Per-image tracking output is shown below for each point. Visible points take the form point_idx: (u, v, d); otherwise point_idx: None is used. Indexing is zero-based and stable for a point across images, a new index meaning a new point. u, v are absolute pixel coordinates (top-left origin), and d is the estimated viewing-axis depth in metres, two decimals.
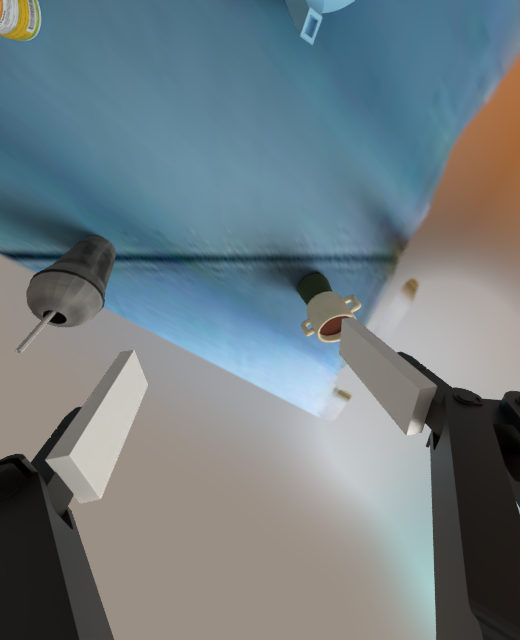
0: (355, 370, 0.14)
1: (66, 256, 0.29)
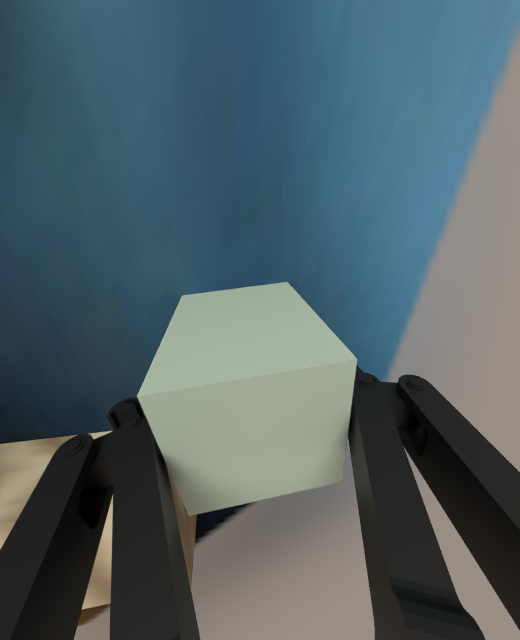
0: None
1: None
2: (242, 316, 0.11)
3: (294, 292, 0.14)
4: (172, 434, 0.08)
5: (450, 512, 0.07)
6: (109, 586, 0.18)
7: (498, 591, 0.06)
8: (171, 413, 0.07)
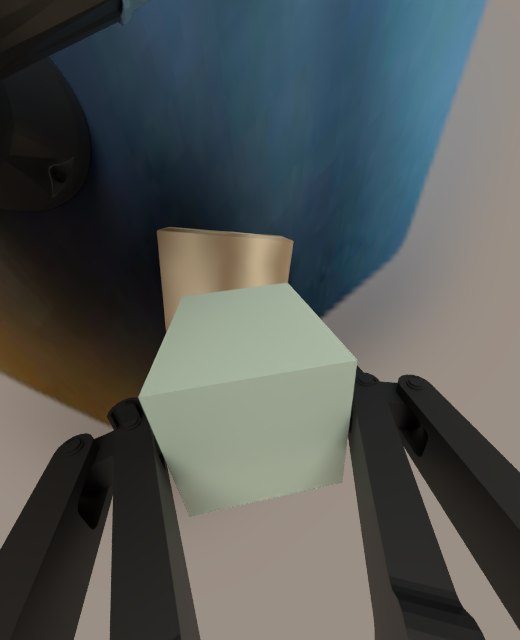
0: None
1: None
2: (242, 317, 0.11)
3: (294, 293, 0.14)
4: (173, 435, 0.08)
5: (450, 512, 0.07)
6: None
7: (498, 591, 0.06)
8: (172, 414, 0.07)
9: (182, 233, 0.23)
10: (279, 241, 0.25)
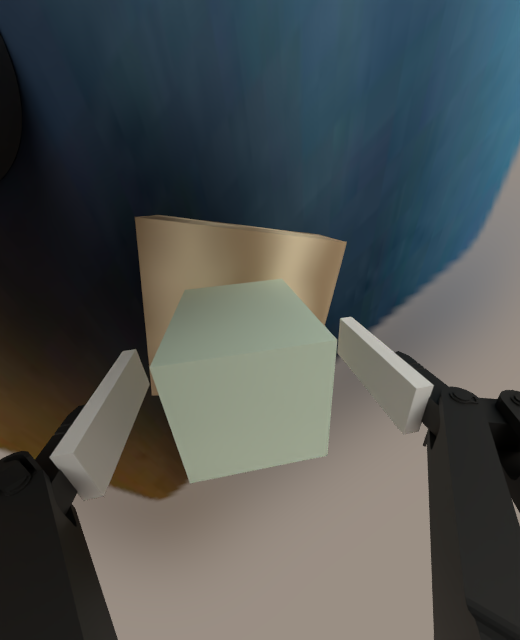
0: (353, 369, 0.14)
1: None
2: (239, 307, 0.13)
3: (287, 287, 0.15)
4: (177, 404, 0.09)
5: None
6: None
7: None
8: (177, 384, 0.09)
9: (177, 223, 0.14)
10: (326, 241, 0.16)
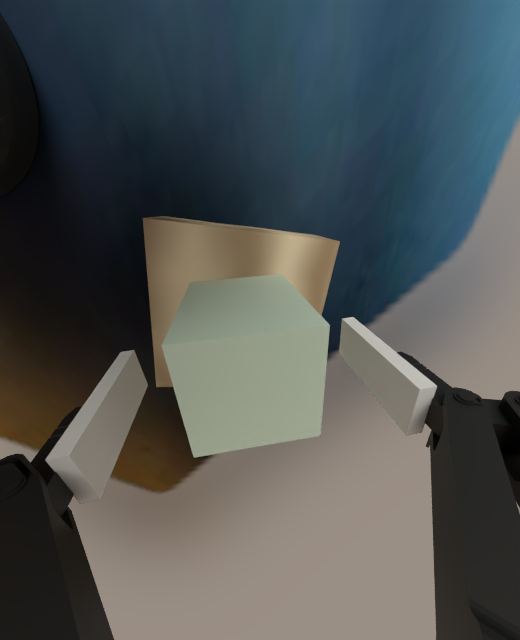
0: (355, 370, 0.14)
1: None
2: (242, 297, 0.14)
3: (287, 281, 0.16)
4: (185, 380, 0.10)
5: None
6: None
7: None
8: (185, 362, 0.10)
9: (181, 224, 0.15)
10: (320, 241, 0.17)
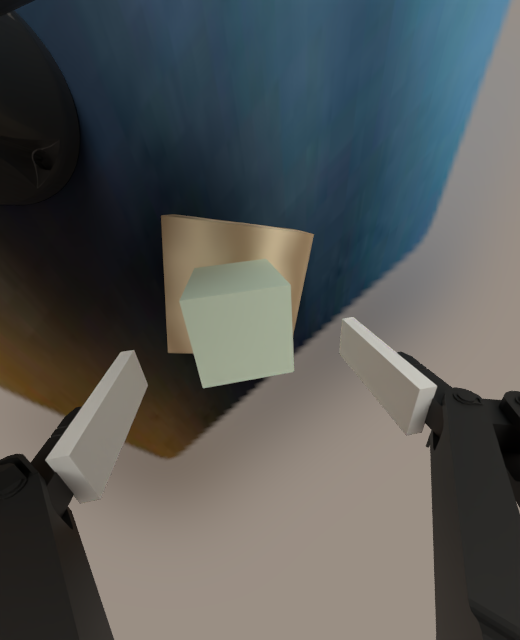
0: (355, 370, 0.14)
1: None
2: (233, 274, 0.18)
3: (268, 263, 0.21)
4: (195, 326, 0.15)
5: None
6: None
7: None
8: (195, 312, 0.15)
9: (190, 220, 0.20)
10: (298, 233, 0.22)
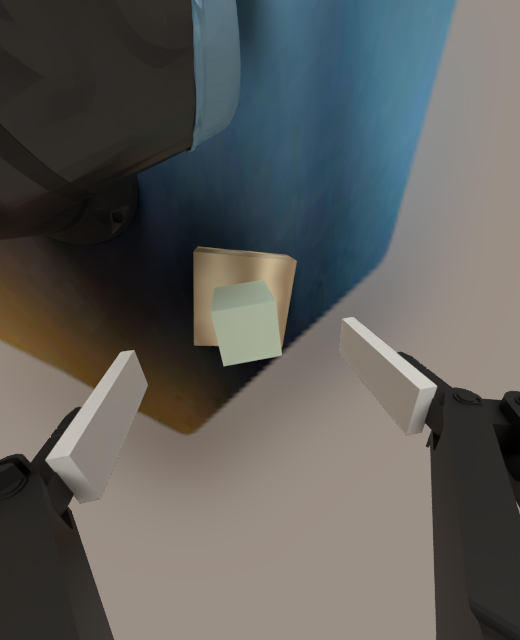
0: (355, 370, 0.14)
1: None
2: (241, 293, 0.28)
3: (265, 283, 0.31)
4: (219, 327, 0.25)
5: None
6: None
7: None
8: (219, 318, 0.25)
9: (212, 254, 0.30)
10: (285, 260, 0.32)
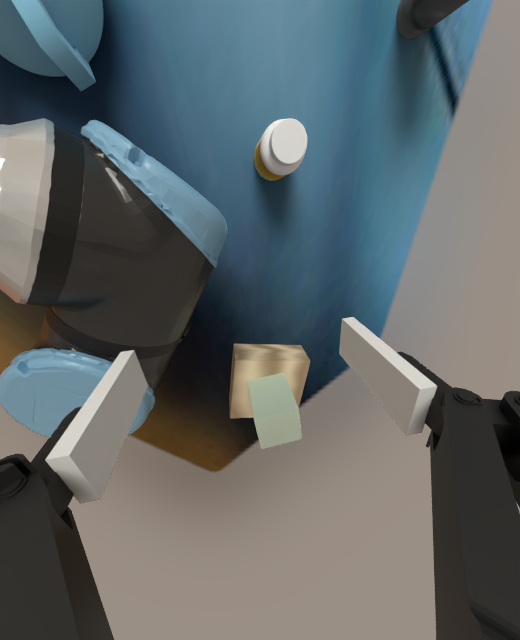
0: (355, 370, 0.14)
1: None
2: (271, 393, 0.39)
3: (286, 380, 0.41)
4: (259, 427, 0.36)
5: None
6: None
7: None
8: (260, 423, 0.35)
9: (248, 360, 0.41)
10: (302, 361, 0.43)
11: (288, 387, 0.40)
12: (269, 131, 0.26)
